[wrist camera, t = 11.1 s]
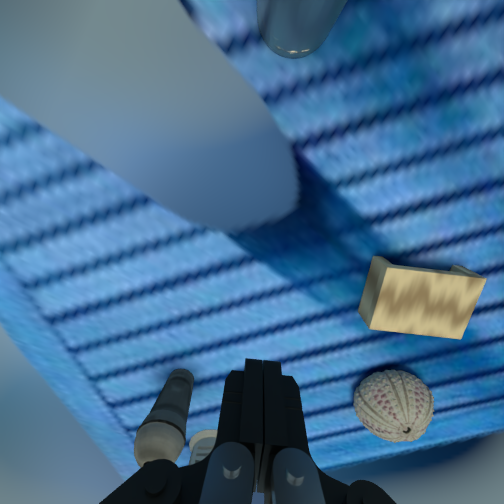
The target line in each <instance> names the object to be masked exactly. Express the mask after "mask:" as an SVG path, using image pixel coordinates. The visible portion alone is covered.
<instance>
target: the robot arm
mask: <svg viewBox="0 0 504 504" xmlns="http://www.w3.org/2000/svg"><path fill="white" fill-rule="evenodd" d="M346 2H347V0H257V19H258V26H259V30H260V33H261V35H262V37H263V39H264V41H265V42H266V44H267V45H268V46H269V48H271V49H272V50H273V51H274V52H275V53H277V54H279V55H281V56H283V57H287V58H300V57H304V56H307V55H309V54H310V53H312V52H314V51H315V50H316V49H317V48H319V47H320V45H321V44H322V43H323V42H324V41H325V39H326V37H327V36H328V34H329V32H330V30H331V28H332V27H333V25H334V23H335V22H336V20H337V18H338V16H339V15H340V13H341V11H342V9H343V7H344V6H345V4H346ZM256 484H257V492H260V493H264V504H396V503H395V502H394V501H393V500H392V499H391V497H390V496H389V495H388V494H387V493H386V492H385V491H384V490H383V489H381V488H380V487H379V486H377V485H376V484H374V483H372V482H370V481H366V480H357V481H355V482H353V483H352V484H351V485H350V486H348V485H346V484H344V483H342V482H340V481H338V480H335V479H333V478H331V477H329V476H328V475H326V474H325V473H323V472H322V471H321V470H320V469H319V468H318V467H317V465H316V464H315V462H314V461H313V459H312V457H311V455H310V452H309V447H308V441H307V435H306V428H305V422H304V416H303V411H302V404H301V397H300V391H299V386H298V385H297V383H296V381H295V380H294V378H293V377H292V376H285V375H282V371H281V362H278V361H268V360H263V365H262V360H257V359H247V358H246V359H245V368H244V371H235V370H232V371H231V372H230V374H229V375H228V377H227V378H226V380H225V386H224V393H223V399H222V405H221V411H220V417H219V424H218V430H217V436H216V441H215V445H214V447H213V449H212V451H211V452H210V453H209V454H208V455H207V456H206V457H205V458H204V459H203V460H201V461H199V462H197V463H195V464H191V465H188V466H184V467H180V468H178V466H177V465H176V464H175V463H174V462H172V461H170V460H168V459H157V460H153V461H151V462H149V463H147V464H146V465H144V466H143V467H142V468H140V469H139V470H138V471H137V472H136V473H135V474H133V475H132V476H131V477H130V478H129V479H127V480H126V481H125V482H124V483H123V484H122V485H121V486H119V487H118V488H117V489H116V490H114V491H113V492H112V493H111V494H110V495H108V496H107V497H106V498H105V499H104V500H103V501H101V502H100V503H99V504H251V502H252V495H253V492H255V490H256Z"/></svg>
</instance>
